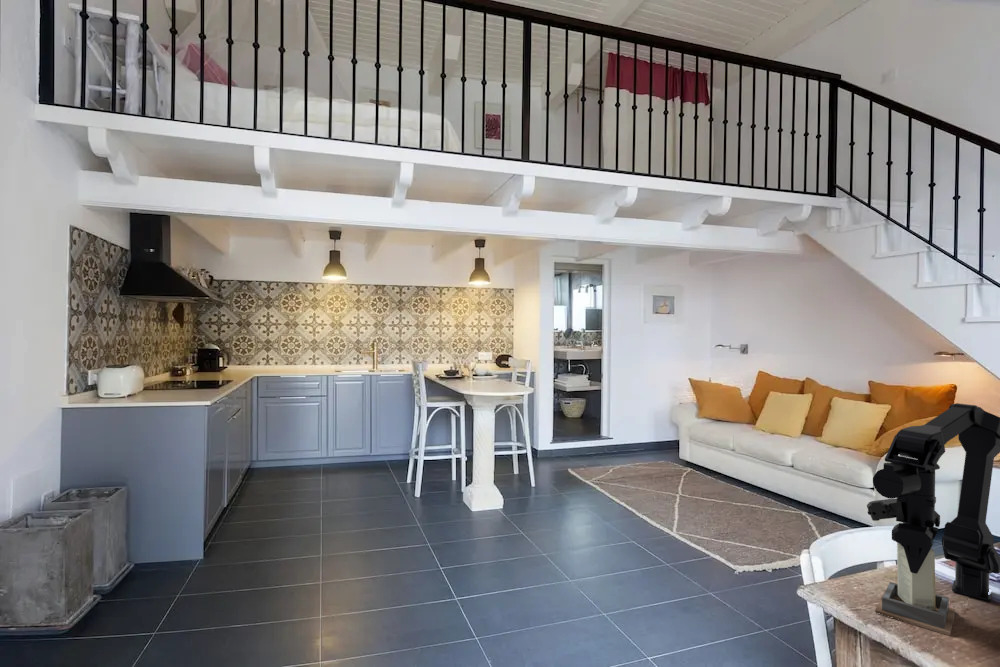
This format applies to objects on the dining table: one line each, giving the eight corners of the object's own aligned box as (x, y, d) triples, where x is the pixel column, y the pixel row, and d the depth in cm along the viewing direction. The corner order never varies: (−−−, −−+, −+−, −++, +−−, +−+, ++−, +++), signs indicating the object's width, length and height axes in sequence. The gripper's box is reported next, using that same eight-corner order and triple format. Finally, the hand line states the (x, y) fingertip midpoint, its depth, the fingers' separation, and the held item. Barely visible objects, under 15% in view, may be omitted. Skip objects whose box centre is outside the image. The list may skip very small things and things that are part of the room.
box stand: (885, 592, 122) (885, 578, 121) (955, 612, 113) (955, 597, 113) (875, 613, 113) (875, 598, 113) (950, 635, 105) (950, 619, 105)
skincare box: (936, 611, 110) (937, 551, 109) (911, 609, 111) (912, 550, 110) (919, 596, 116) (919, 539, 116) (895, 594, 117) (896, 538, 116)
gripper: (878, 475, 125) (877, 543, 125) (862, 493, 111) (861, 569, 112) (940, 485, 117) (939, 557, 118) (931, 506, 104) (930, 587, 104)
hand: (916, 566), depth 113 cm, fingers closed on skincare box, 7 cm apart
